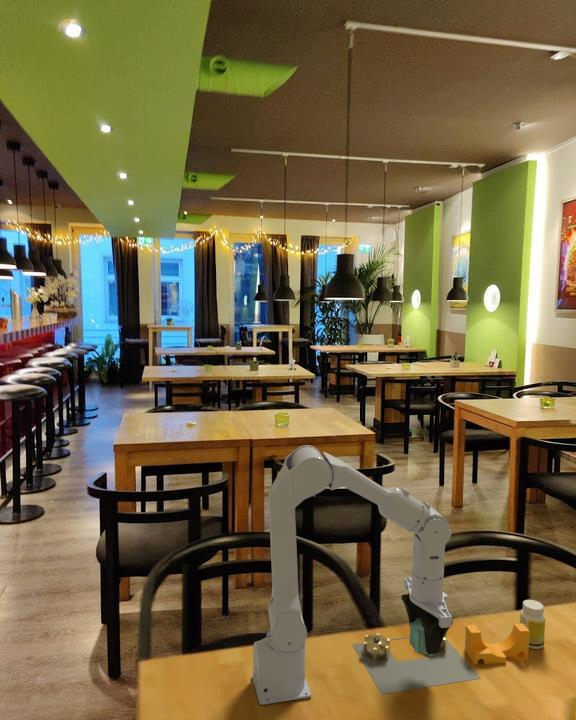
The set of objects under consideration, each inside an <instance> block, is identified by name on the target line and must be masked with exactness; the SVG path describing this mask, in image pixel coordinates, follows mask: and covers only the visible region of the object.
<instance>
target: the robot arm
mask: <svg viewBox="0 0 576 720" xmlns="http://www.w3.org/2000/svg"><path fill="white" fill-rule="evenodd" d="M322 453H323V454H322ZM323 455H324V456H323ZM327 488H329V490H330V491H333V490H336V489H337V490H338V489H340V488H345V489H348V490H349V491H351V492H352V493H354V494H357V495H359V496H361V497H362V498H364V499H367V501H370V502H371V503H374V504H375V505H377V506H378V507H377V508H378V512H379V514H380V515H381V516H382V517H384V518H386V519H387V520H389V521H391V522H392V523H394V524H395V525H397V526H399V527H401V528H403V530H406V531H408V532H409V533H413V540H412V541H413V544H412V559H411V560H412V562H411V563H412V564H411V565H412V566H411V576H409V577H405V578H404V580H403V581H404V582H403V587H404V589H405V590H407V591H408V592H407V594H406V593H405V594H403V595H401V601H402V602H403V604H404V607H405V611H406V614H407V619H408V623H409V625H410V624H411V623H413V622H414V621H416V620H417V618H420V620H421V623H422V625H423V629H424V634H425V647H426V652H427V653H428V654H436V653H438V652H439V649H440V646H441V643H442V640H443V638H444V636H445V634H446V632H448V631H449V629H450V628H452V626H453V623H454V622H453V621H454V620H453V616H452V615H451V613H450V612H449V609H448V607H447V604H446V601H447V600H448V599H449V597H448V594H447V593H445V592H444V575H445V553H446V551H445V550H446V545H447V543H448V542H449V541H450V539H451V537H452V534H453V532H452V530H451V529H450V524H449V522H448V520H447V519H446V518H445V516H443V515H442V514H441V513H439V512H438V510H437V509H435V508H434V507H433V506H432V505H431V504H430V503H428V502H426V501H423V502H421V501H420V500H419V499H416V498H415V497H413V496H412V495H410V494H411V493H410V491H409V489H407V488H404V487H401V488H398V487H396V486H392V487H388V488H385V487H383V486H382V485H380V484H378V483H377V482H375V481H373V480H372V479H370V478H369V477H367V476H366V475H365V474H364V473H361V472H360V471H358V470H357V469H355V468H354V467H352V466H351V465H350V464H348V463H346V462H344V461H342V460H341V459H339V458H337V457H335V456H334V455H331V454H329V453H327V452H326V451H322V452H321V451H320V450H319V449H318V448H317V447H315V446H313V445H307V444H306V445H301V446H298V447H297V448H296V449H295V450H293V451H292V452H291V453H290V454H288V455H287V456H286V457H285V459H284V462H283V464H282V466H281V469H280V470H279V472H278V474H277V476H276V477H275V478H274V481H273V483H272V484H271V486H270V487H269V491H268V511H269V512H268V513H269V515H268V517H269V534H270V535H269V539H270V558H271V580H272V587H271V597H270V600H269V601H268V605H267V614H268V618H269V626H270V627H269V629H268V632H267V633H266V637H264V638H262V639H260V640H257V641H254V643H253V645H252V646H253V653H252V676H251V677H252V682H253V685H254V688H255V692H256V695H257V696H256V697H257V699H258V703H259V705H261V706H263V705H270V704H277V703H282V702H290V701H294V700H300V699H301V700H302V699H307V698H311V697H312V692H311V689H310V686H309V683H308V681H307V679H306V649H307V648H306V645H307V644H306V641H307V638H308V631H307V627H306V625H305V621H304V618H303V613H302V607H301V602H300V595H299V580H298V579H299V578H298V576H299V575H298V556H297V555H298V554H297V553H298V552H297V551H298V550H297V528H296V527H297V525H296V524H297V523H296V507H297V506H299V505H300V504H301V503H302V502H303V501H304V500H306V499H309V498H311V497H313V496H315V495H317V494H319V493H321V492H323V491H324V490H325V489H327ZM428 613H429V615H427V614H428Z"/></svg>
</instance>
